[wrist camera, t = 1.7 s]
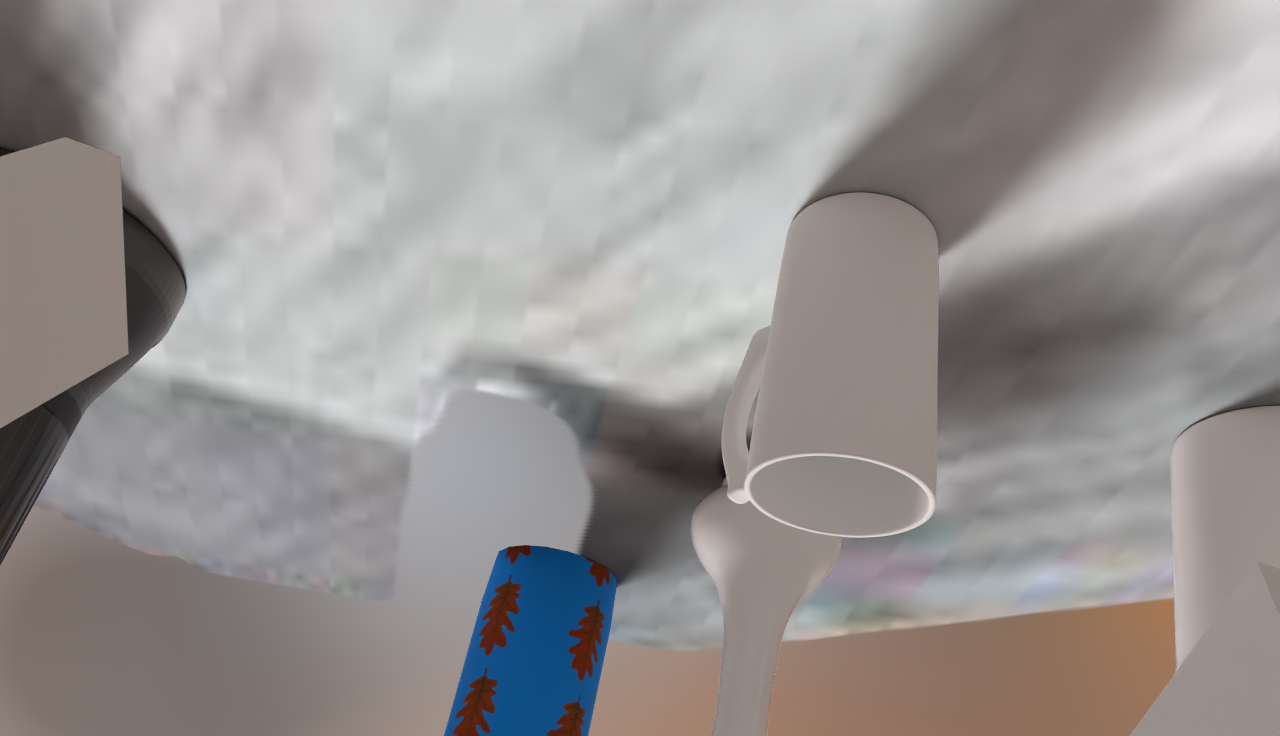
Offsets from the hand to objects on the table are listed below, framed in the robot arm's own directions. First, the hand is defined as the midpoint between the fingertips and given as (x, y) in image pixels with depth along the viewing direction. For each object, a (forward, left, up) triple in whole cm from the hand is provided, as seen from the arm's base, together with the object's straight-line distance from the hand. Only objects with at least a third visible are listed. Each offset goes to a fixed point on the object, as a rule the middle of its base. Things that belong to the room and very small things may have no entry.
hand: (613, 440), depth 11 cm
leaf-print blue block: (-3, -71, -23) cm, 75 cm away
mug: (+7, -23, -23) cm, 33 cm away
